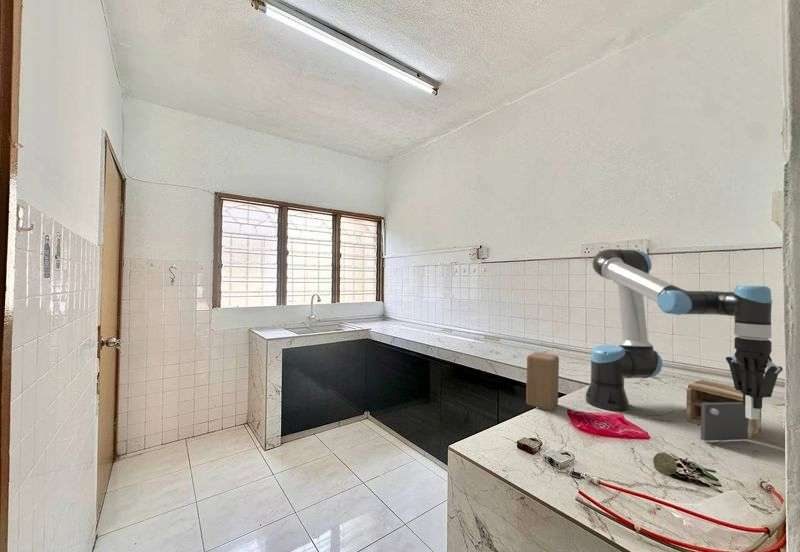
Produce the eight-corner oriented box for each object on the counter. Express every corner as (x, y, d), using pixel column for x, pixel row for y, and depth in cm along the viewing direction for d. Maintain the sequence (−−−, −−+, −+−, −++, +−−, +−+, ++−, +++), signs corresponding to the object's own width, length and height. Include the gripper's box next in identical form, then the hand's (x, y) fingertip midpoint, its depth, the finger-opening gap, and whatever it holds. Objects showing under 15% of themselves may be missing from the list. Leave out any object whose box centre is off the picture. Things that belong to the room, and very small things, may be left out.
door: (756, 441, 105) (756, 405, 105) (709, 443, 103) (710, 406, 103) (745, 437, 108) (746, 402, 108) (700, 438, 106) (701, 402, 106)
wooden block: (533, 398, 141) (534, 351, 141) (558, 404, 135) (559, 355, 135) (525, 405, 133) (526, 355, 133) (551, 411, 127) (552, 359, 127)
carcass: (747, 439, 108) (748, 399, 108) (686, 420, 122) (686, 385, 122) (760, 430, 115) (761, 392, 115) (701, 413, 129) (702, 379, 129)
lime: (679, 479, 85) (679, 459, 85) (656, 474, 87) (657, 455, 87) (672, 470, 90) (673, 451, 90) (651, 465, 91) (651, 447, 91)
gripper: (791, 342, 92) (791, 427, 92) (739, 334, 105) (739, 409, 105) (767, 342, 91) (767, 428, 91) (717, 334, 104) (717, 409, 104)
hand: (752, 418), depth 98 cm, fingers closed
